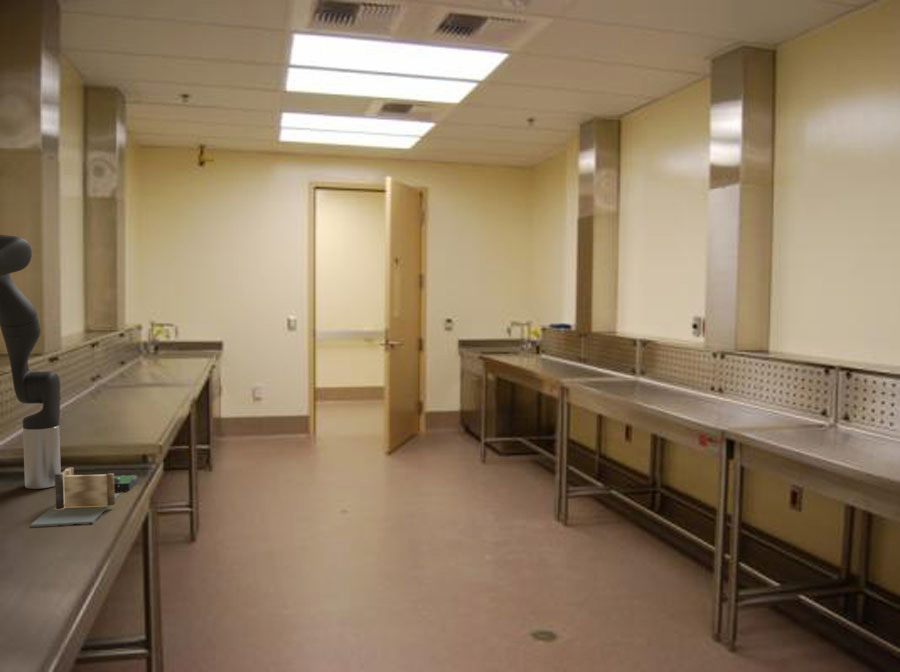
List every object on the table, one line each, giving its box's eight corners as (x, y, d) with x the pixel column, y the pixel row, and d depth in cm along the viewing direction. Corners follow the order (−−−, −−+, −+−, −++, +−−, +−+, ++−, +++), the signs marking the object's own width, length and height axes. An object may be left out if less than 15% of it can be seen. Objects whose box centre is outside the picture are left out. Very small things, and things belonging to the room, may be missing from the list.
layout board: (65, 497, 199) (64, 495, 199) (119, 495, 202) (119, 493, 202) (30, 527, 175) (30, 524, 175) (93, 523, 178) (92, 521, 178)
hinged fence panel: (64, 507, 187) (63, 476, 187) (67, 505, 189) (66, 474, 189) (113, 506, 189) (112, 474, 188) (115, 503, 191) (115, 473, 190)
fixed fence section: (68, 500, 197) (67, 465, 197) (75, 499, 198) (74, 465, 197) (55, 511, 187) (53, 475, 187) (62, 511, 187) (61, 474, 187)
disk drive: (74, 495, 204) (130, 492, 207) (73, 485, 204) (130, 482, 207) (85, 485, 214) (138, 482, 217) (84, 476, 214) (138, 473, 217)
